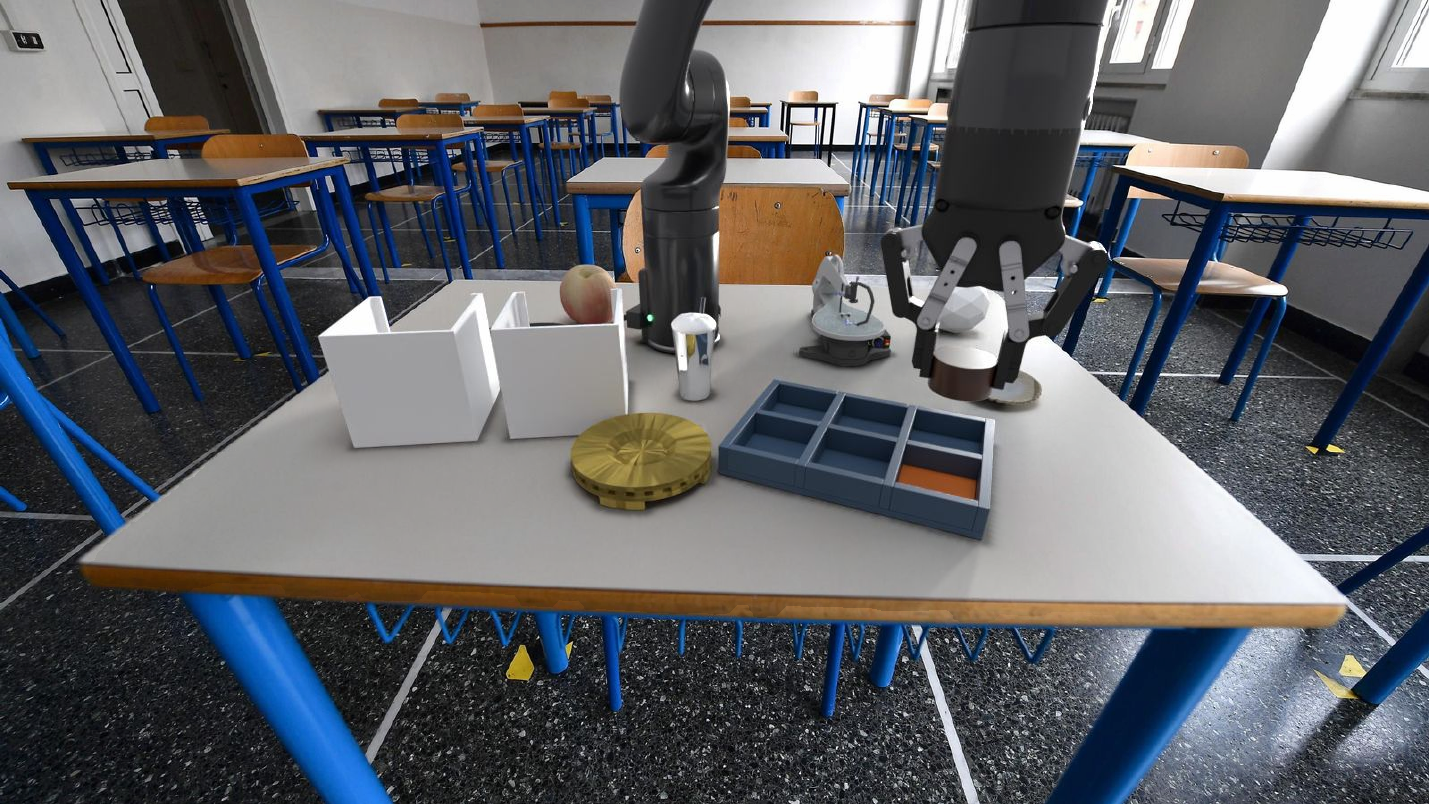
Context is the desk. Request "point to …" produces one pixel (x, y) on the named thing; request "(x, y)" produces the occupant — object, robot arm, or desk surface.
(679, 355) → the milkshake
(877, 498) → the grid
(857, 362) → the scroll saw
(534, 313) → the desk surface
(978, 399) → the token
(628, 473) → the gold notched disc
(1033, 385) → the seashell
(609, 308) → the fruit
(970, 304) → the geometric ball
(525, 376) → the white open box
